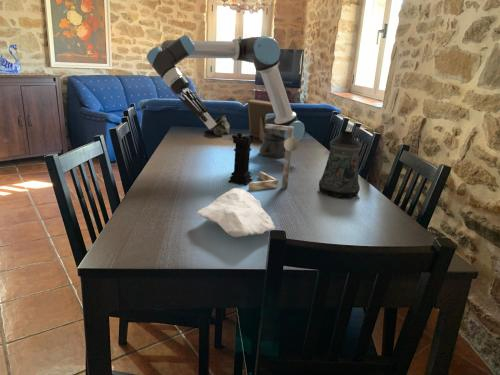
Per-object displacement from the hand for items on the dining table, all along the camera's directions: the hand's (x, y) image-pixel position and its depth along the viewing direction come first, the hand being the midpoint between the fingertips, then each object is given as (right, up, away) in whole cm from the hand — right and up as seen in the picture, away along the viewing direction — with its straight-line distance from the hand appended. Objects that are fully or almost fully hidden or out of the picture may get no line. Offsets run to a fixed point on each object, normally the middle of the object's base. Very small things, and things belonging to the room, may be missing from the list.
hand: (213, 126), depth 153 cm
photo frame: (+23, +8, +97) cm, 100 cm away
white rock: (+11, -37, -37) cm, 54 cm away
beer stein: (+51, -27, +1) cm, 58 cm away
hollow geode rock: (-7, +12, +103) cm, 104 cm away
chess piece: (+11, -23, +5) cm, 26 cm away
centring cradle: (+21, -24, +4) cm, 32 cm away
